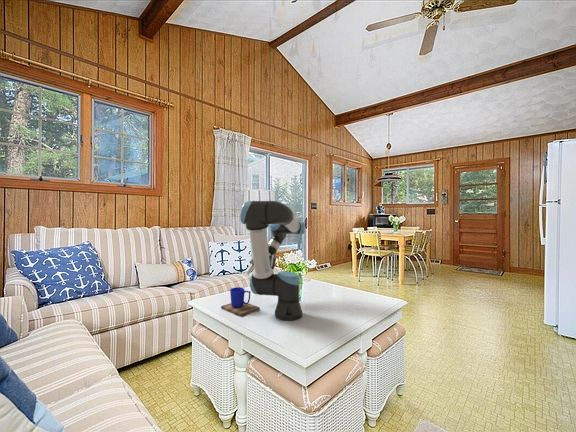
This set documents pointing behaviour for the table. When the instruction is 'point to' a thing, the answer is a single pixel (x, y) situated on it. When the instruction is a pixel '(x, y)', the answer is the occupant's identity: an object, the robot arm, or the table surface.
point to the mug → (238, 297)
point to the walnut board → (240, 309)
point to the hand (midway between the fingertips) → (254, 275)
